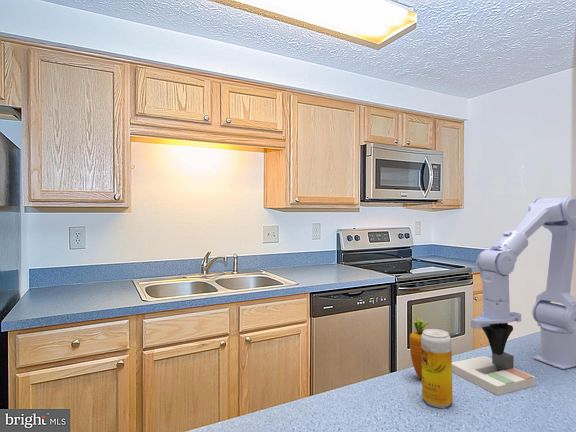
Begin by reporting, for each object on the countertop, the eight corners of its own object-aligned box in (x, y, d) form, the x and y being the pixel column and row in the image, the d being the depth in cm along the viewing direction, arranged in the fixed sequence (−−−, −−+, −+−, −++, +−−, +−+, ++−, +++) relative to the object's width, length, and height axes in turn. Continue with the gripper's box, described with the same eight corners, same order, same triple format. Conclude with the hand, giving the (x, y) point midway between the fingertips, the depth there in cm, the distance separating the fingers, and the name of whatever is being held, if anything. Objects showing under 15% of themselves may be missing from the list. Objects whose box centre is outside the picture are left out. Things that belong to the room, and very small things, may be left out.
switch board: (484, 363, 98) (484, 354, 98) (535, 385, 85) (535, 376, 85) (449, 370, 94) (449, 362, 94) (497, 395, 81) (497, 385, 81)
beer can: (416, 398, 81) (414, 330, 81) (438, 392, 83) (436, 326, 83) (436, 411, 75) (434, 339, 75) (459, 405, 77) (457, 334, 77)
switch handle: (499, 368, 94) (499, 350, 93) (513, 375, 90) (513, 355, 90) (492, 370, 93) (492, 351, 93) (506, 376, 89) (506, 357, 89)
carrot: (412, 373, 93) (411, 314, 93) (433, 377, 91) (431, 317, 91) (408, 381, 89) (406, 319, 89) (429, 385, 87) (428, 322, 86)
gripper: (503, 292, 97) (504, 343, 97) (460, 298, 92) (462, 352, 92) (528, 298, 90) (530, 353, 90) (484, 304, 85) (485, 362, 85)
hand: (497, 353), depth 91 cm, fingers closed
